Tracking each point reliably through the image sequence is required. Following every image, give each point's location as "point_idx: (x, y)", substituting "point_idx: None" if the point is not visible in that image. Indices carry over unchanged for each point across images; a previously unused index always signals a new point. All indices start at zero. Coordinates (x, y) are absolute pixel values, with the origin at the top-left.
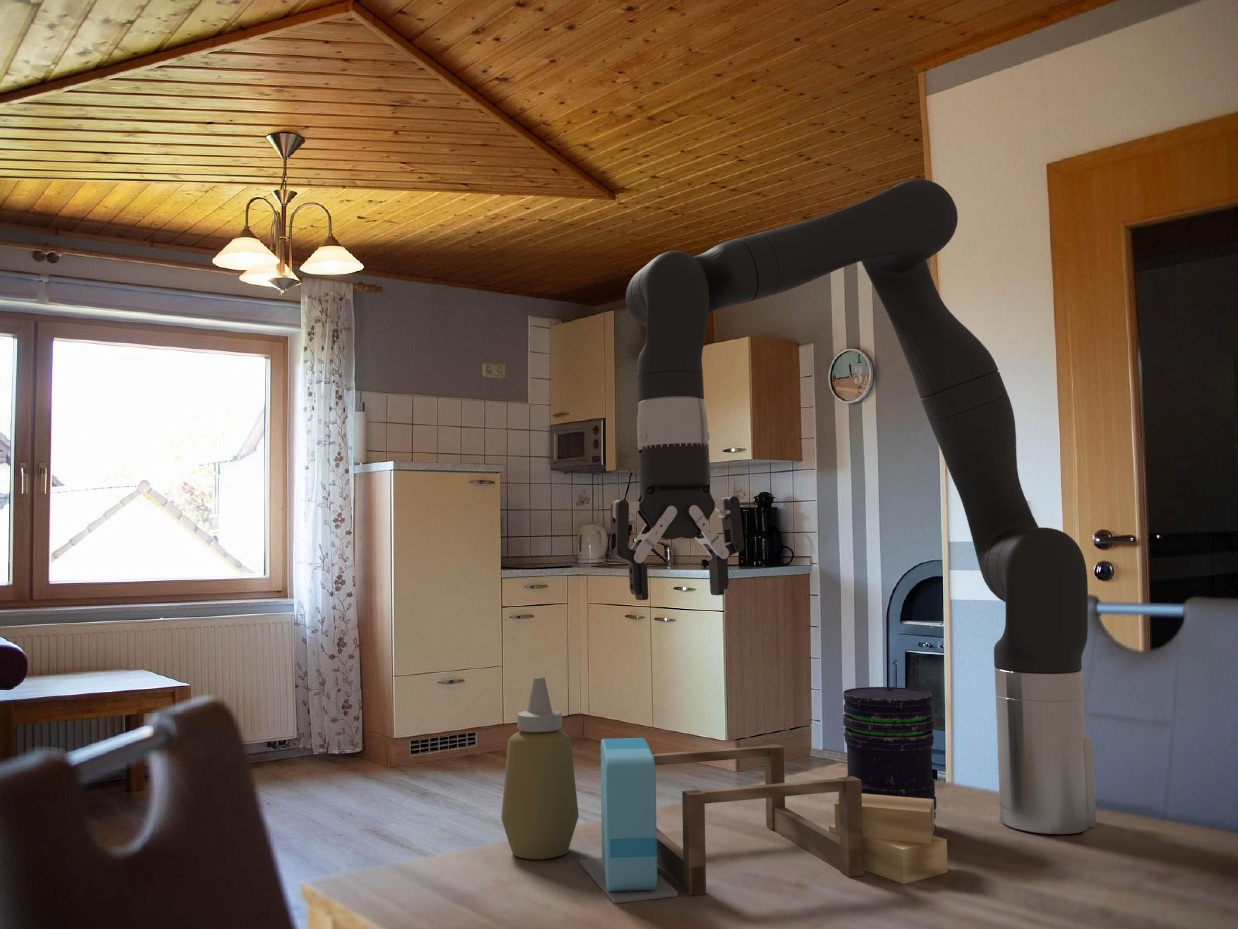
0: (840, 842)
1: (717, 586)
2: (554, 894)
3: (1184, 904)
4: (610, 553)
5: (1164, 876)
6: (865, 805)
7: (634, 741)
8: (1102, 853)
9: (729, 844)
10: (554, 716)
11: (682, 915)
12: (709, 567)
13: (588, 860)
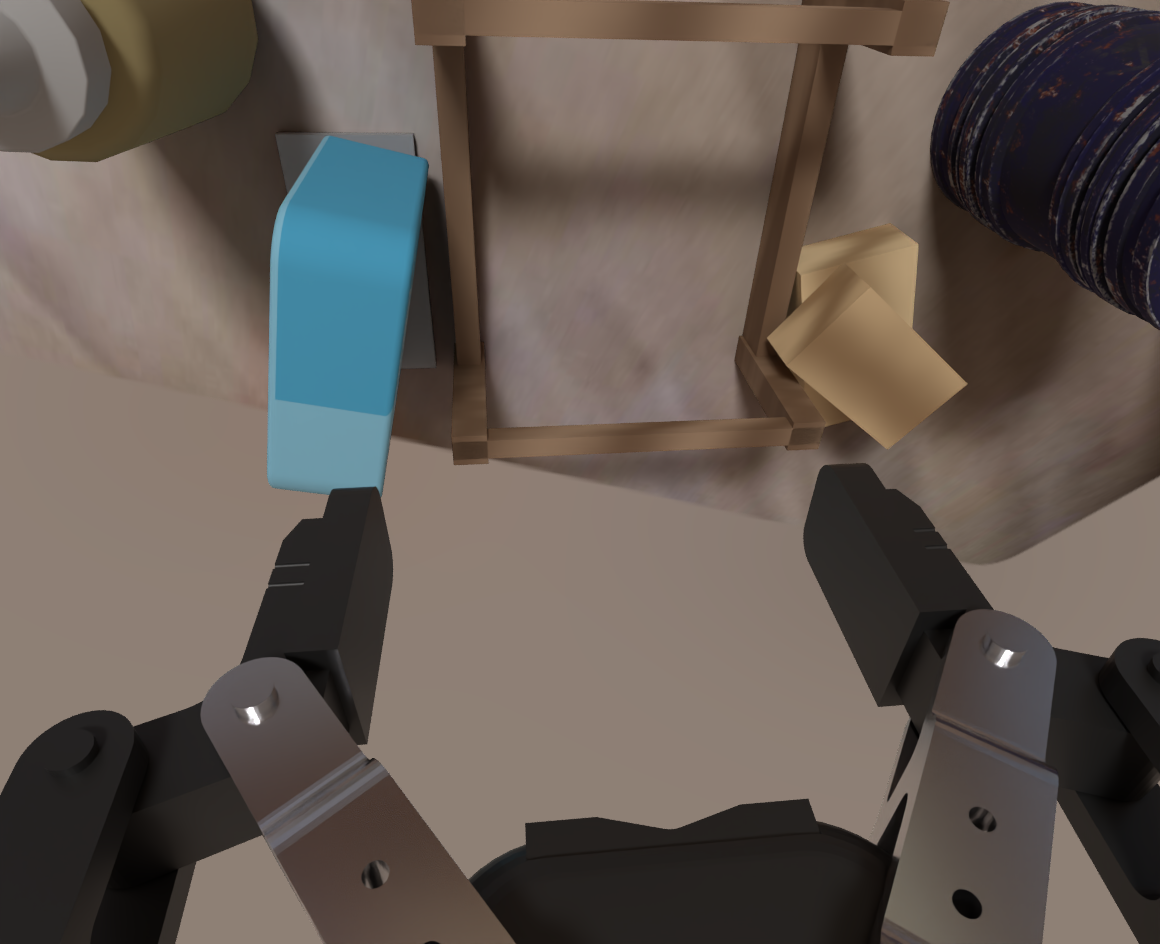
0: (754, 361)
1: (820, 569)
2: (219, 296)
3: (1005, 533)
4: (29, 758)
5: (1097, 462)
6: (827, 390)
7: (366, 328)
8: (1151, 366)
9: (648, 99)
10: (66, 139)
11: (423, 431)
12: (893, 576)
13: (294, 147)
